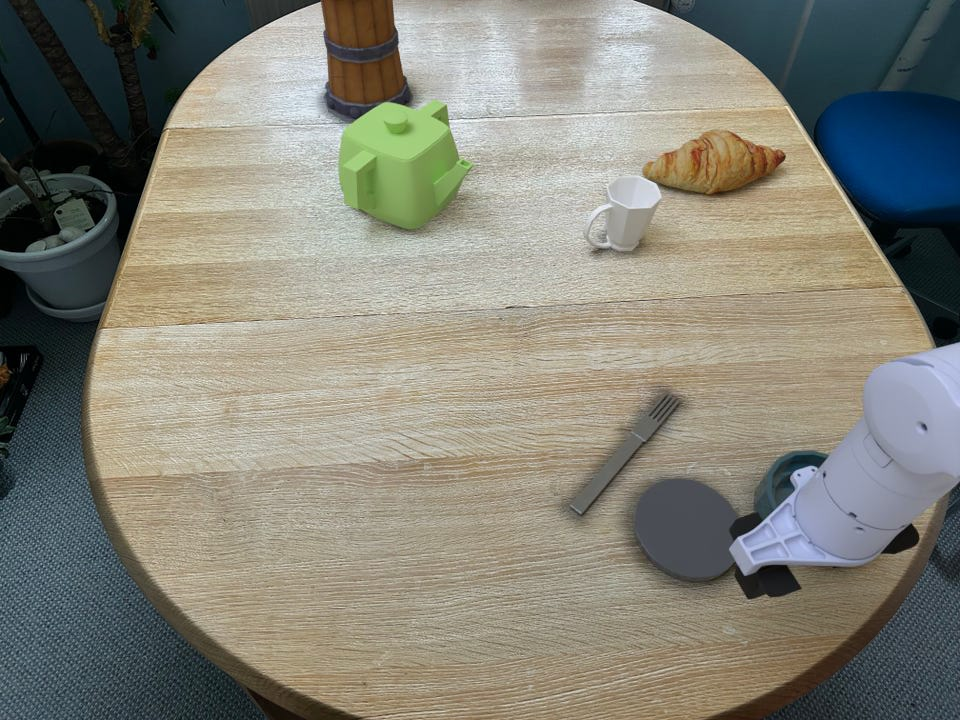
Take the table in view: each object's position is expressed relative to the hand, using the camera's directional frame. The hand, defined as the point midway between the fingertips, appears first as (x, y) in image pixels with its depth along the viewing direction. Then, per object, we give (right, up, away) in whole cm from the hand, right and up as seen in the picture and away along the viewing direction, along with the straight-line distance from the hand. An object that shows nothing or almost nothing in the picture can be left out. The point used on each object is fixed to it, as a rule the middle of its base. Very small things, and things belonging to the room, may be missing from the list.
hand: (787, 570), depth 52 cm
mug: (-43, +60, +59) cm, 95 cm away
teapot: (-33, +38, +41) cm, 65 cm away
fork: (-8, +7, +17) cm, 21 cm away
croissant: (+10, +43, +47) cm, 65 cm away
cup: (-6, +31, +37) cm, 49 cm away
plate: (-4, 0, +12) cm, 13 cm away
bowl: (+8, +1, +13) cm, 15 cm away
